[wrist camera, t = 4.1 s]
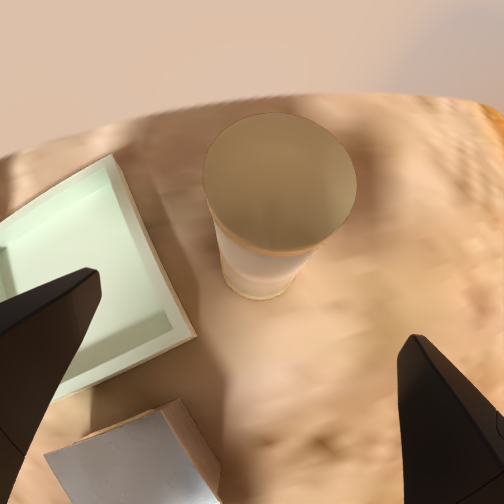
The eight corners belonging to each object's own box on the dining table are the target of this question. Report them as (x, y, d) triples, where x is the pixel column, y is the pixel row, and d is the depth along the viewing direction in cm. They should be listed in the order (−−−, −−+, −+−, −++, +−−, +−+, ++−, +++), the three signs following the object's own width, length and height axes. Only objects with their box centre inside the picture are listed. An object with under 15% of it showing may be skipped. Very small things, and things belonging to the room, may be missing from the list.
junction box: (226, 466, 16) (222, 505, 11) (107, 506, 15) (76, 542, 10) (181, 393, 18) (160, 410, 12) (66, 440, 16) (22, 460, 11)
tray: (197, 336, 19) (191, 335, 16) (42, 408, 16) (22, 413, 14) (122, 172, 21) (111, 153, 19) (-6, 251, 19) (-25, 241, 17)
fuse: (310, 278, 20) (384, 205, 9) (243, 314, 19) (250, 278, 8) (273, 215, 21) (304, 97, 10) (207, 247, 20) (178, 145, 9)
